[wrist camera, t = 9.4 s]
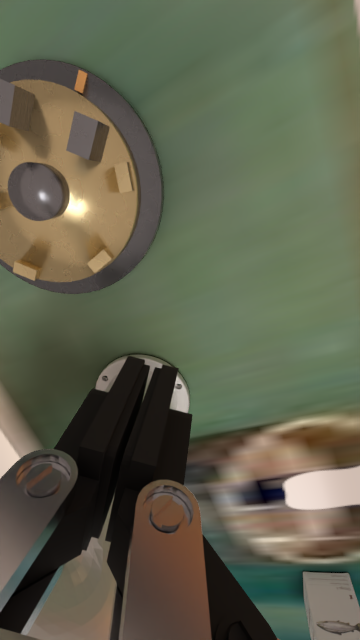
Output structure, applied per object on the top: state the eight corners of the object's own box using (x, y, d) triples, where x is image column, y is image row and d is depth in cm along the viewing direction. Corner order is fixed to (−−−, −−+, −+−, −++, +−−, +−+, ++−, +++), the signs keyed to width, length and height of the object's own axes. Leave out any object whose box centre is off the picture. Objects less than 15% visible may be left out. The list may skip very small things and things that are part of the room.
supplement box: (349, 571, 53) (385, 680, 41) (347, 599, 55) (380, 709, 44) (301, 569, 54) (323, 675, 42) (301, 597, 56) (322, 703, 45)
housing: (160, 297, 38) (158, 302, 37) (-16, 282, 40) (-26, 286, 39) (167, 67, 30) (164, 61, 28) (-58, 62, 32) (-73, 56, 30)
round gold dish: (112, 301, 37) (97, 318, 33) (-38, 240, 37) (-75, 248, 32) (166, 132, 30) (157, 123, 26) (-19, 52, 29) (-63, 27, 25)
